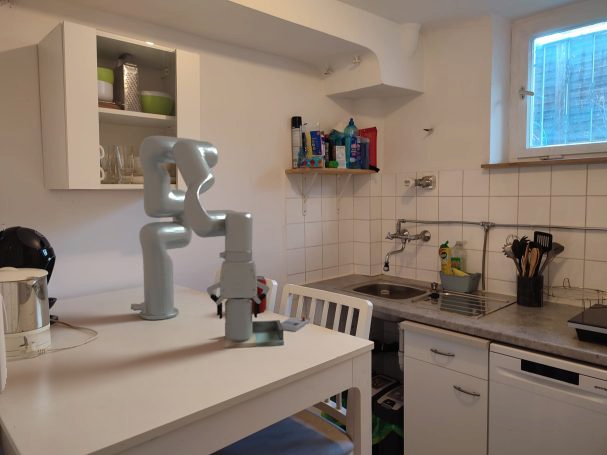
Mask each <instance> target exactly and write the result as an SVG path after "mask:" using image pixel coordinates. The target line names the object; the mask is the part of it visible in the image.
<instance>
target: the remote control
mask: <svg viewBox="0 0 607 455" xmlns="http://www.w3.org/2000/svg"><path fill="white" fill-rule="evenodd" d="M310 319H311V317H309V318H306V317H305V316H302V318H301V317H289V318H288V319H286V320H284V321H282V322H281V325H282V327H283V331H287V332H292V333H296V332H298V331H300V330H301V329H303V328H304V327H306V326H307V325H309V324H310V323H309V321H310ZM306 324H307V325H306ZM305 325H306V326H305ZM302 327H303V328H302Z"/></svg>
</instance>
